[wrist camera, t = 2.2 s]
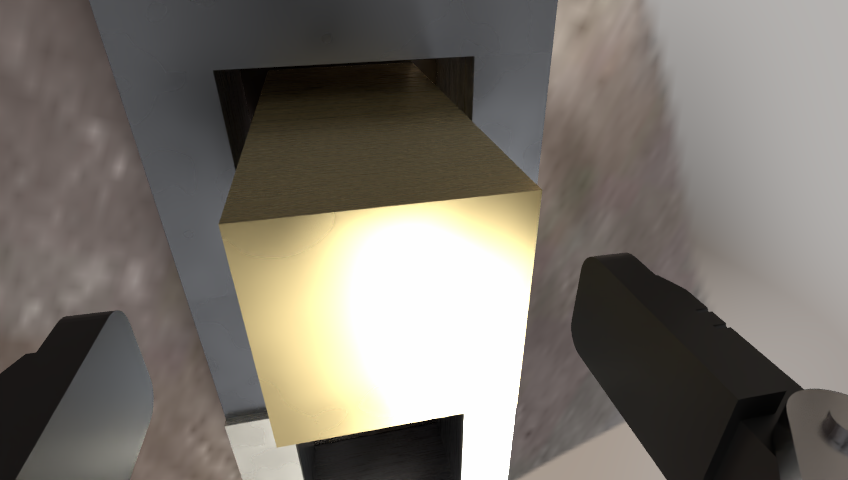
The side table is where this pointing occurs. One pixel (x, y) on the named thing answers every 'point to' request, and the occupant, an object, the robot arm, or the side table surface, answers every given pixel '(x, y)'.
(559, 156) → the side table surface
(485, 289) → the brass block
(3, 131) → the side table surface
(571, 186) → the side table surface
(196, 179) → the grey peg holder block
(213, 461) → the side table surface
